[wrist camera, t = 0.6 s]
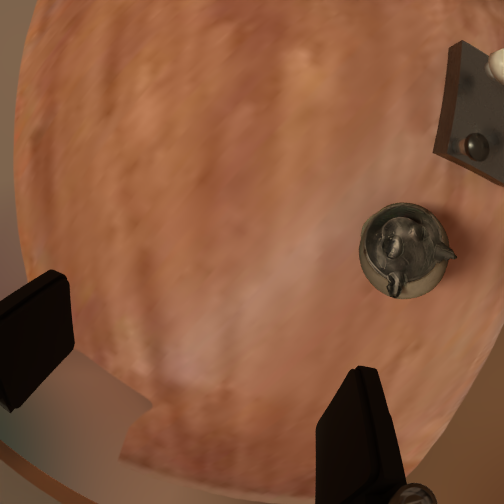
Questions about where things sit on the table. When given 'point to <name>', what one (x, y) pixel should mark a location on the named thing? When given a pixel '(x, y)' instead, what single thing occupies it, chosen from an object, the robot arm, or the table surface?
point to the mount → (472, 111)
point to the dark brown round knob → (472, 146)
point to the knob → (496, 66)
